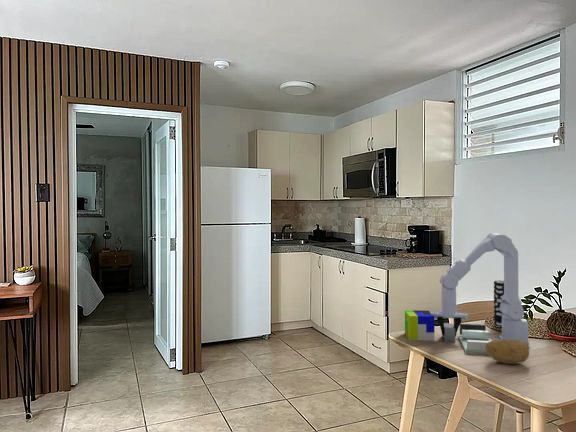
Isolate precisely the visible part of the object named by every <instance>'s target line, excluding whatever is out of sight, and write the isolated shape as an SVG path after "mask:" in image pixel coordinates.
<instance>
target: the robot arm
mask: <svg viewBox="0 0 576 432" xmlns="http://www.w3.org/2000/svg"><path fill="white" fill-rule="evenodd" d="M495 250H496V251H498V252H499V254H501V255H502V256H503V281H504V295H503V297H502V302H501V304H500V311H501V312H502V313H503V315H502V328H501V335H498V337H499V340H504V339H508V340H517V341H523V342H525V343H526V344H530V343H529V323H528V319H525V318H523V317H524V315H525V310H524V308H523V306H522V300H521V298H520V296H519V252H518V249H517V248H516V246H515V245H514V243H513V241H512V238H510V237H508V236H507V235H505V234H503V233H496V232H491V233H489V234H488V235H486V237H484V238H483V239H481V241H480V242H479V243H478V244H477V245H476V246H475V248H474V249H472V251H471V252H470V253H469V254H468V255H467V256H466V257H465V258H464V259H459V260H458V261H457V260H456V261H454V265H453V266H452V267H451V268H450V269H448V270H446V272H445V273H443V274H442V275H441V276H440V279H439V283H440V284H441V302H440V303H441V311H429V312H430V315H434V319H436V320H437V322H438V325H439V327H440V331H441V336H442V337H443V336H444V323H445V319H453V325H454V327H455V338H456V337H457V334H458V333H457V332H458V329H459V328H460V324H462V320H468V319H469V314H468V313H461V312H457V287H458V285H459V281H461V280H462V279H463V278H464V277H465V276H466V275H467V274H468V273H469V272H470V271H471V270H472V265H473V264H474V263H476V262H477V261H478V260H479V259H480V258H481V257H482V256H484V255H485V254H486V253H489V252H494V251H495Z"/></svg>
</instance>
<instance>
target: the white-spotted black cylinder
mask: <svg viewBox="0 0 576 432" xmlns="http://www.w3.org/2000/svg"><path fill="white" fill-rule="evenodd" d="M503 295H504V280H494V281H493V326H494V325H496V326H500V327H502V315H503V313H502V312H501V311H500V304H501V302H502V297H503ZM496 326H495V327H496Z"/></svg>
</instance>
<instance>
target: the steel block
mask: <svg viewBox="0 0 576 432" xmlns="http://www.w3.org/2000/svg"><path fill="white" fill-rule="evenodd" d="M442 339H443V341H444V342H446V343H447V342H448V343H456V337H455V327H454V322H453V323H451V322H450V323H448V322H444V336H442Z"/></svg>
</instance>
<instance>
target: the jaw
mask: <svg viewBox="0 0 576 432" xmlns="http://www.w3.org/2000/svg"><path fill="white" fill-rule="evenodd" d="M460 335H461V337H462V338H466V339H484V340H489V338H490V331H489V330H487V327H486V324H481V323H479V324H478V323H476V324H475V323H461V324H460V325H459V336H460Z"/></svg>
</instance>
